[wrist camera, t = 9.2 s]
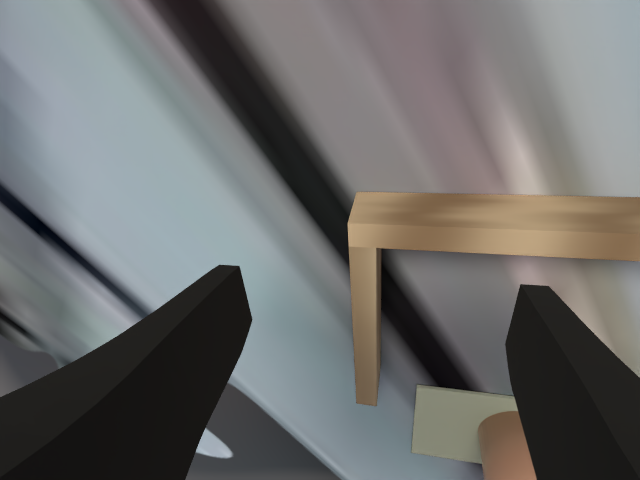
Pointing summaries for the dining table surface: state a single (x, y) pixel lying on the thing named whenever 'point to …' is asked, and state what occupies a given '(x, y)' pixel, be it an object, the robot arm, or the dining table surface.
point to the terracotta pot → (504, 448)
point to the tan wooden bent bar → (472, 244)
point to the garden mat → (453, 421)
